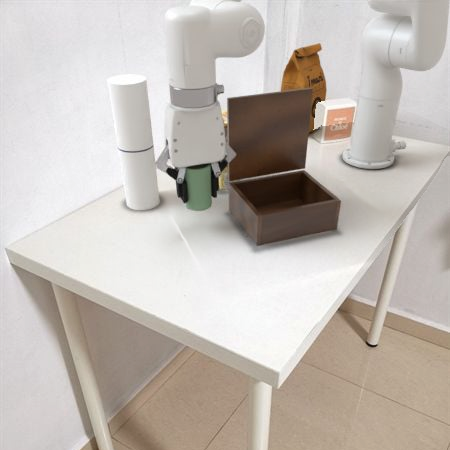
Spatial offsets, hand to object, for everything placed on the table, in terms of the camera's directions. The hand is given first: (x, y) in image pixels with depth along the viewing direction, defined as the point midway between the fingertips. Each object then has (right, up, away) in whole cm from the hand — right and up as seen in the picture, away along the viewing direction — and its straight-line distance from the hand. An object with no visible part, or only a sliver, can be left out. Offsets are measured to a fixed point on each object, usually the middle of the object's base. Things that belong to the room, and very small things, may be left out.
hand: (198, 196), depth 88 cm
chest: (+16, -4, +7) cm, 18 cm away
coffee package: (+27, +29, +48) cm, 62 cm away
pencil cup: (0, -1, +1) cm, 2 cm away
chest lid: (+14, +12, +2) cm, 18 cm away
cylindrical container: (-13, +2, +14) cm, 19 cm away
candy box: (+5, +7, +21) cm, 23 cm away
